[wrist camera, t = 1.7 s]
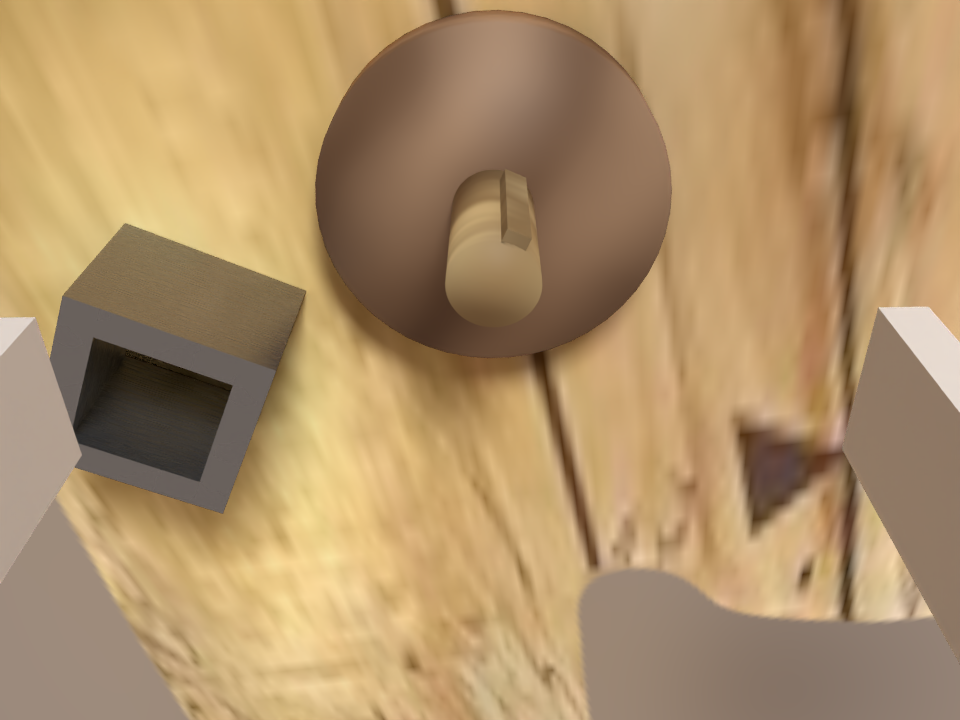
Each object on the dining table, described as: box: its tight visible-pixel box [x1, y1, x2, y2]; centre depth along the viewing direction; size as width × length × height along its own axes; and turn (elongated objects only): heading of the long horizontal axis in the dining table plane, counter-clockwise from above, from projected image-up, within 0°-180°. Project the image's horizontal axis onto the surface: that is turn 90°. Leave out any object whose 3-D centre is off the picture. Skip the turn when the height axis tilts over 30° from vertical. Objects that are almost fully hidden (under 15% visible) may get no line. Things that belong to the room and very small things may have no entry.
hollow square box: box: [50, 223, 306, 514], centre depth 35 cm, size 8×8×6 cm
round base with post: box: [315, 10, 672, 358], centre depth 30 cm, size 13×13×8 cm
